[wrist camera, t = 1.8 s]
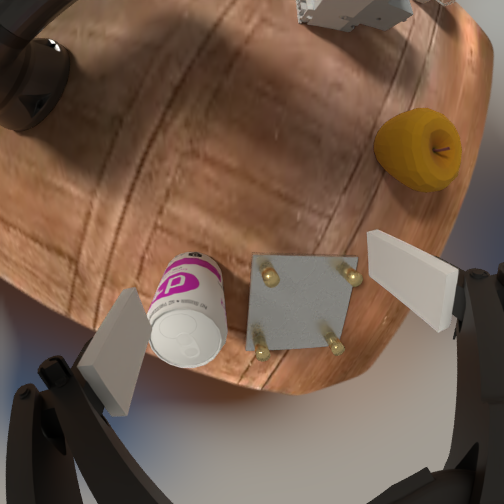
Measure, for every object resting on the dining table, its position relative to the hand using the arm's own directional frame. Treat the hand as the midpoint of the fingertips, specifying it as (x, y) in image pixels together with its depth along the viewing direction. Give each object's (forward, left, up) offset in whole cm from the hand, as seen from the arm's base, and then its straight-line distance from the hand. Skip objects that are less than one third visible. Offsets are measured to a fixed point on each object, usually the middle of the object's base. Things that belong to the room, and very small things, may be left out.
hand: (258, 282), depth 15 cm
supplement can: (-5, -10, -23) cm, 26 cm away
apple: (+23, +11, -23) cm, 35 cm away
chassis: (+11, -14, -23) cm, 29 cm away
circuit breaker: (+14, +33, -23) cm, 43 cm away
